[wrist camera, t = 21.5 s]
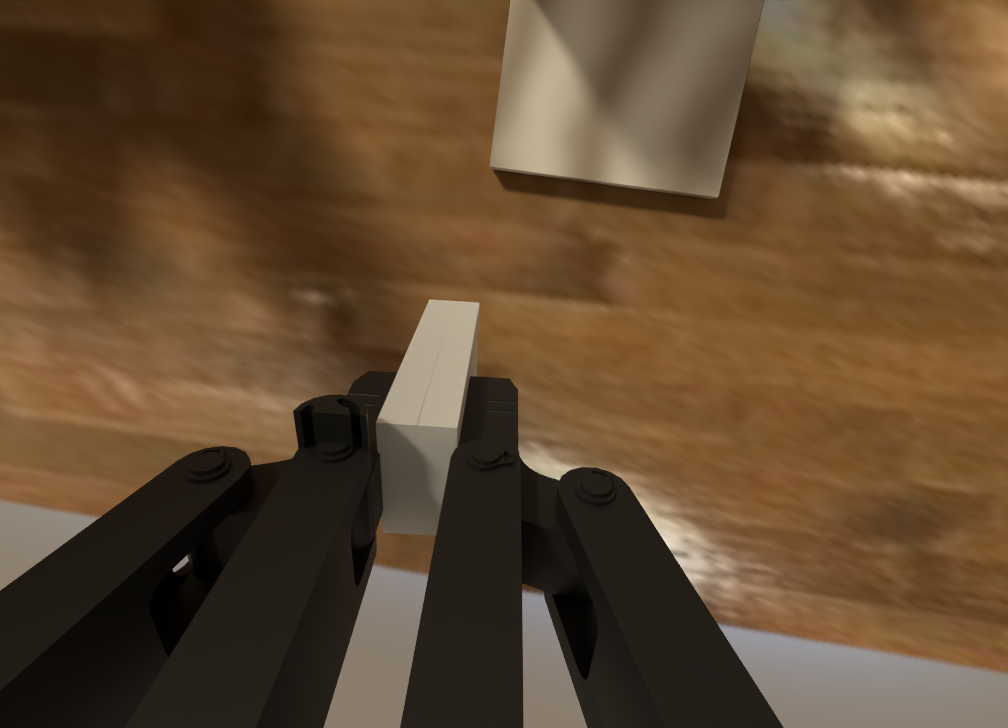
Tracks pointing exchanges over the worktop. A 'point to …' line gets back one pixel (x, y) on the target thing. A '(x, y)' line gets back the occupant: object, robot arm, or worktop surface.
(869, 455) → the worktop surface
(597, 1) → the shelf
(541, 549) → the robot arm
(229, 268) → the worktop surface
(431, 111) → the worktop surface
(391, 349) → the worktop surface
